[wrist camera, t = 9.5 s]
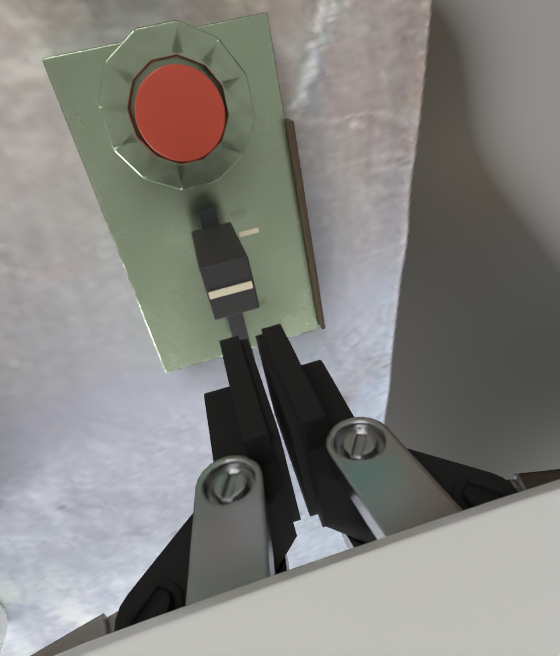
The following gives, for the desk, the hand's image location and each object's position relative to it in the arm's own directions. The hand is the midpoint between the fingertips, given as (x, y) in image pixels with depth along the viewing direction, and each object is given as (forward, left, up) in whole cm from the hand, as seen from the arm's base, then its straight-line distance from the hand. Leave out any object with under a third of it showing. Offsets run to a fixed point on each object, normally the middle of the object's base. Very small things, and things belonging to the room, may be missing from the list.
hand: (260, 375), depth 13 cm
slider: (0, 0, -12) cm, 12 cm away
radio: (0, 0, -17) cm, 17 cm away
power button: (-6, +2, -12) cm, 14 cm away
